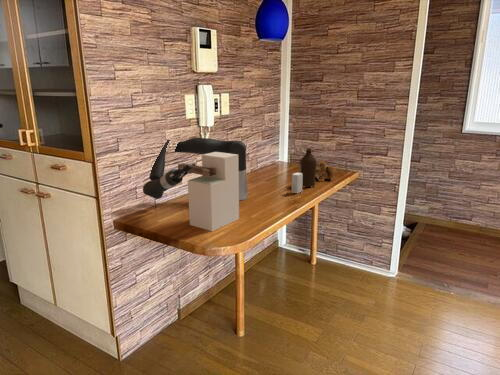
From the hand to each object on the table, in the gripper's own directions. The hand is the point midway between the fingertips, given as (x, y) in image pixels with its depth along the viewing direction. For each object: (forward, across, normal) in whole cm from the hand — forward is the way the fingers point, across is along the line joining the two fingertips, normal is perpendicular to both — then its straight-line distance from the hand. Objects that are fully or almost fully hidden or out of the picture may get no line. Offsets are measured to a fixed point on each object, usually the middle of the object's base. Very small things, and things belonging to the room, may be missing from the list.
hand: (192, 165), depth 172 cm
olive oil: (-1, +90, +31) cm, 95 cm away
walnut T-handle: (0, 0, +4) cm, 4 cm away
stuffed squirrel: (0, +112, +32) cm, 116 cm away
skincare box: (+1, +72, +32) cm, 79 cm away
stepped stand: (-6, +5, +28) cm, 29 cm away
